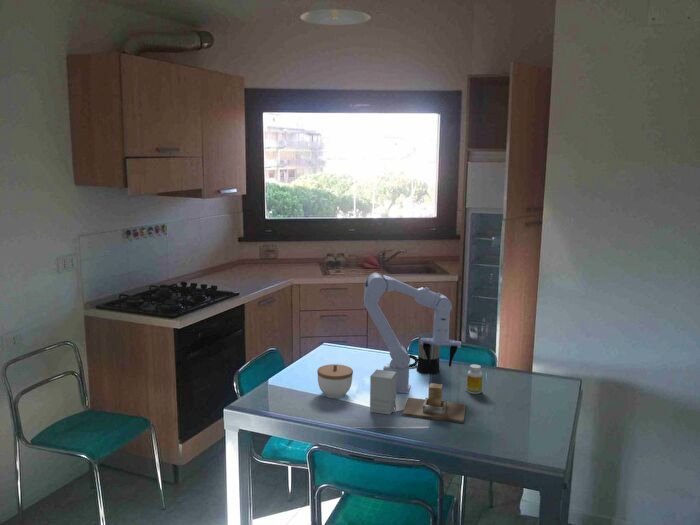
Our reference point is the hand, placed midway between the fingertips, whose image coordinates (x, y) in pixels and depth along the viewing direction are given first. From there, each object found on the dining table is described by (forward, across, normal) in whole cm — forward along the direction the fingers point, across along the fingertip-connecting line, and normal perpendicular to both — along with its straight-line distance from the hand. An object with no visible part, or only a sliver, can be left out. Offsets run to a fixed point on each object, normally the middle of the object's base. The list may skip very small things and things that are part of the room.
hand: (439, 364), depth 223 cm
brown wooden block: (+9, +1, -20) cm, 22 cm away
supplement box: (+10, -16, -25) cm, 31 cm away
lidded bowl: (+10, -35, -17) cm, 40 cm away
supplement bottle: (+10, +13, +2) cm, 16 cm away
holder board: (+9, +1, -20) cm, 22 cm away
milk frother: (+10, -10, +20) cm, 25 cm away
